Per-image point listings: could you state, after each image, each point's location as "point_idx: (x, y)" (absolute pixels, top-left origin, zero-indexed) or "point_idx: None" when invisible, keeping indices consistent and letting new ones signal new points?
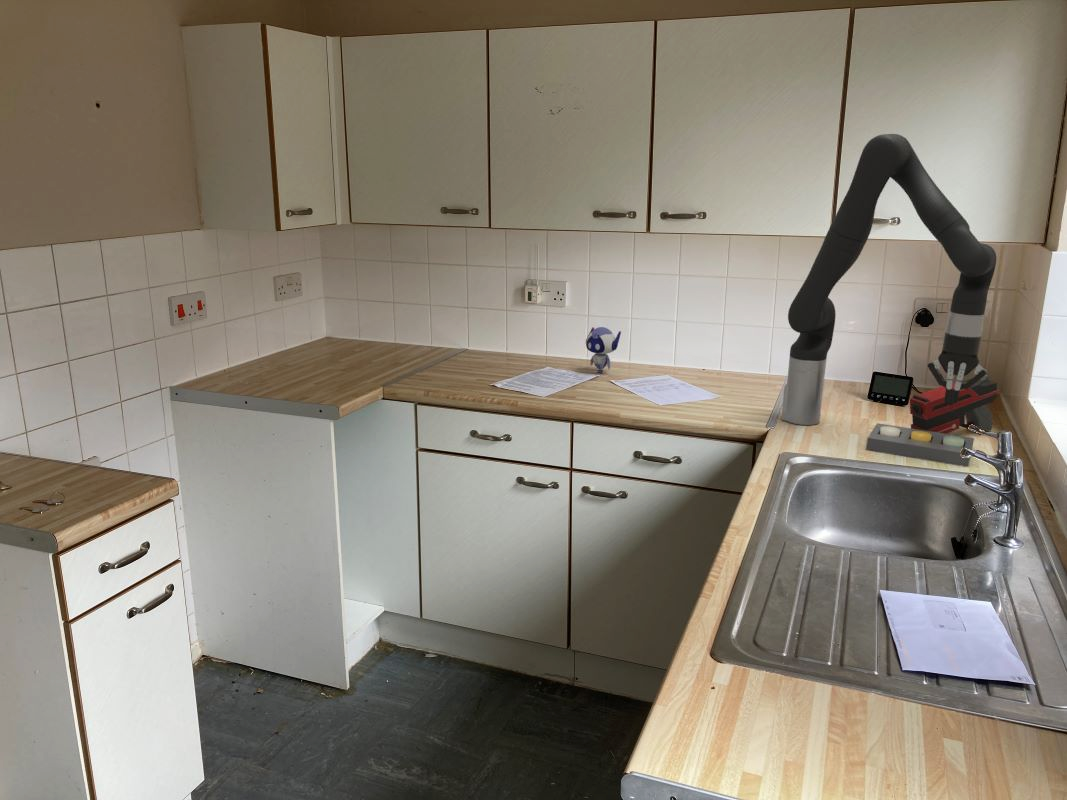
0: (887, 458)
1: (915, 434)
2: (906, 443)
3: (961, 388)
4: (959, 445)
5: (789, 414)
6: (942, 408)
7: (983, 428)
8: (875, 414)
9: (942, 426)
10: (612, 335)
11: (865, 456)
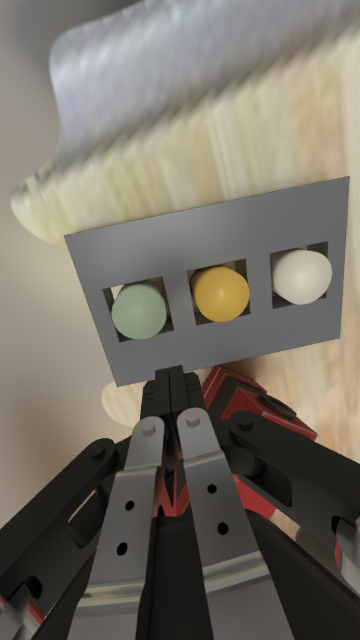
0: (261, 141)
1: (235, 276)
2: (239, 205)
3: (129, 442)
4: (117, 296)
5: None
6: None
7: None
8: (338, 447)
9: None
10: None
11: (316, 110)
